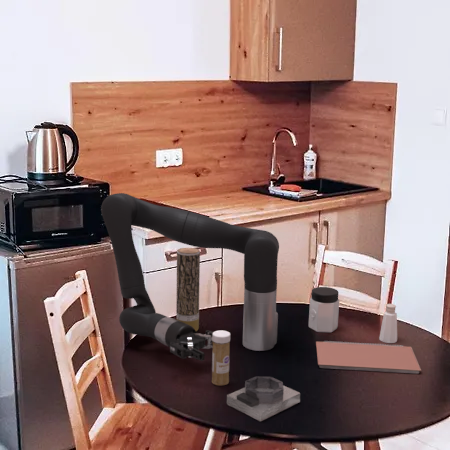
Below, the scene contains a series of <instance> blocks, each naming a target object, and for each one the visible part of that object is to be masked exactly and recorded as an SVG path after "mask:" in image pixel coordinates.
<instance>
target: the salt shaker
mask: <svg viewBox="0 0 450 450" xmlns="http://www.w3.org/2000/svg"><path fill="white" fill-rule="evenodd" d="M385 307H386V308H385V311H384V313H383V316H382V323H381V327H380V332H379V338H378V339H379V341H380V342H383V343H384V344H385V343H386V344H394V343H397V341H398V319H397V318H398V315H397V312H396V307H397V306H396V304H393V303H387V304H385Z"/></svg>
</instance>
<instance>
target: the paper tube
mask: <svg viewBox="0 0 450 450" xmlns="http://www.w3.org/2000/svg"><path fill="white" fill-rule="evenodd" d="M200 251H201V250H200V249H198V248H197V247H181V248H177V249H176V310H175V311H176V313H175V314H176V318H175V319H176V320H178V321H181V322H183V323H185V324H188V325H190V326H192V327H193V328H194V329H195V331H196V332H198V331H199V328H200V326H199V325H200V323H199V322H200V277H201V276H200V271H201V270H200V267H201V266H200V265H201V259H200V258H201V252H200Z"/></svg>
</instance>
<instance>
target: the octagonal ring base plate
mask: <svg viewBox="0 0 450 450" xmlns="http://www.w3.org/2000/svg"><path fill="white" fill-rule="evenodd" d="M244 382H245V383H244V387H242V388H240V389H238V390H235V391H234V392H231V393H228V394H226V405H227V406H229V407H231V408H233V409H235V410H237V411H238V412H240V413H243V414H245V415H247V416H249V417H251V418H253V419H255V420H257V421H258V422H263V421H265V420H267V419H269V418H271V417H273V416H274V415H277V414H279V413H280V412H283V411H285V410H287V409H289V408H291V407H293V406H295V405H297V404H298V403H301V393H300V392H299V391H297V390H295V389H293V388H291V387H287V386H285V385H284V383H283V381H282V380H279V379H277V378H274V377H273V376H254V377H251V378H249V379H247V380H245V381H244Z"/></svg>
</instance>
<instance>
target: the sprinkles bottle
mask: <svg viewBox="0 0 450 450" xmlns="http://www.w3.org/2000/svg"><path fill="white" fill-rule="evenodd" d="M212 332H213V334H212V340H213V343H212V344H213V347H212V355H211V356H212V358H211V383H212V384H213V385H215V386H221V387H223V386H225V385H226V386H227V385H228V384H229V382H230V376H229V375H230V373H229V372H230V344H231V343H230V342H231V332H229V331H227V330H222V329H221V330H215V331H212Z"/></svg>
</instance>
